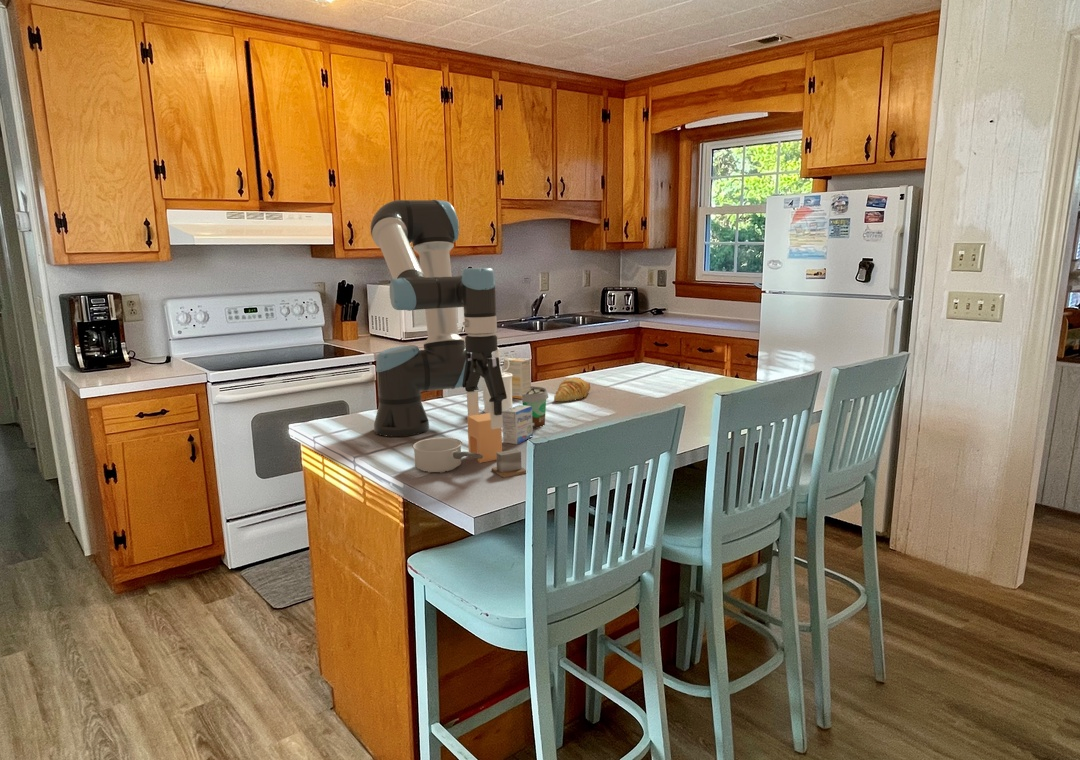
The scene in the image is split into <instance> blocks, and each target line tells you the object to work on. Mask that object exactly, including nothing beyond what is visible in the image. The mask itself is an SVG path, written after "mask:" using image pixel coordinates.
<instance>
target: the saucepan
mask: <svg viewBox="0 0 1080 760" xmlns="http://www.w3.org/2000/svg"><path fill="white" fill-rule="evenodd" d="M462 445H463V441H461V440H459V439H458V438H452V437H432V438H426V439H421V440H419V441H416V442H414V443H413V444H412V446H411V447H412V449H413V451H414V454H413V455H414V466H415V468H416V469H417V470H421V471H422V470H423V472H425V471H428V472H427V473H430V472H440V473H445V471H447V472H449V471H453V470H455V469H456V468H457V467H459V466H461V464H462V458H464V457H468V458H475V459H477V458H479V459H482V458H483V455H481V454H476V453H471V452H469V451H462V447H461V446H462Z"/></svg>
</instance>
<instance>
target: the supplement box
mask: <svg viewBox="0 0 1080 760" xmlns="http://www.w3.org/2000/svg"><path fill="white" fill-rule="evenodd" d="M507 358H508V360H509V363H510V365H509V368H508V369H507V367H508V361H507V359H506V358H504V359H503V368H504V369H503V372H507V373H511V374H512V399H513V398H514V399H519V400H522V394H526V393H527V392H529V391H530V390H531V386H532V380H531V377H532V376H531V359H529V358H521V357H520V358H519V357H507ZM505 369H507V370H505ZM504 370H505V371H504Z"/></svg>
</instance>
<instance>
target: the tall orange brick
mask: <svg viewBox="0 0 1080 760" xmlns="http://www.w3.org/2000/svg"><path fill="white" fill-rule="evenodd" d="M466 419H467V421H466V422H467V439H468V440H467V441H468V452H471V453H476V454H481V455H483V458H482V459H479V458H476V459H477V462H478V463H485V462H491V461H495V460H496V461H497V456H496V453H497V452H503V429H502V428H498V429H491V418H490V413H479V415H472V416H468V415H467V418H466Z"/></svg>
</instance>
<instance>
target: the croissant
mask: <svg viewBox="0 0 1080 760" xmlns="http://www.w3.org/2000/svg"><path fill="white" fill-rule="evenodd" d="M590 391H591V384H590V383H589V382H587V381H586V380H584V379H582V378H581V377H570V378H567V379H565V380H563V381H562V382H560V383H559V386H558V388H557V391H556V392H555V395H554V400H555V401H556V402H570V401H569V400H573V401H576V400H575V399H579V400H582V399H584V398H586V397H587V396H588V394H589V392H590ZM583 397H584V398H583Z"/></svg>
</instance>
